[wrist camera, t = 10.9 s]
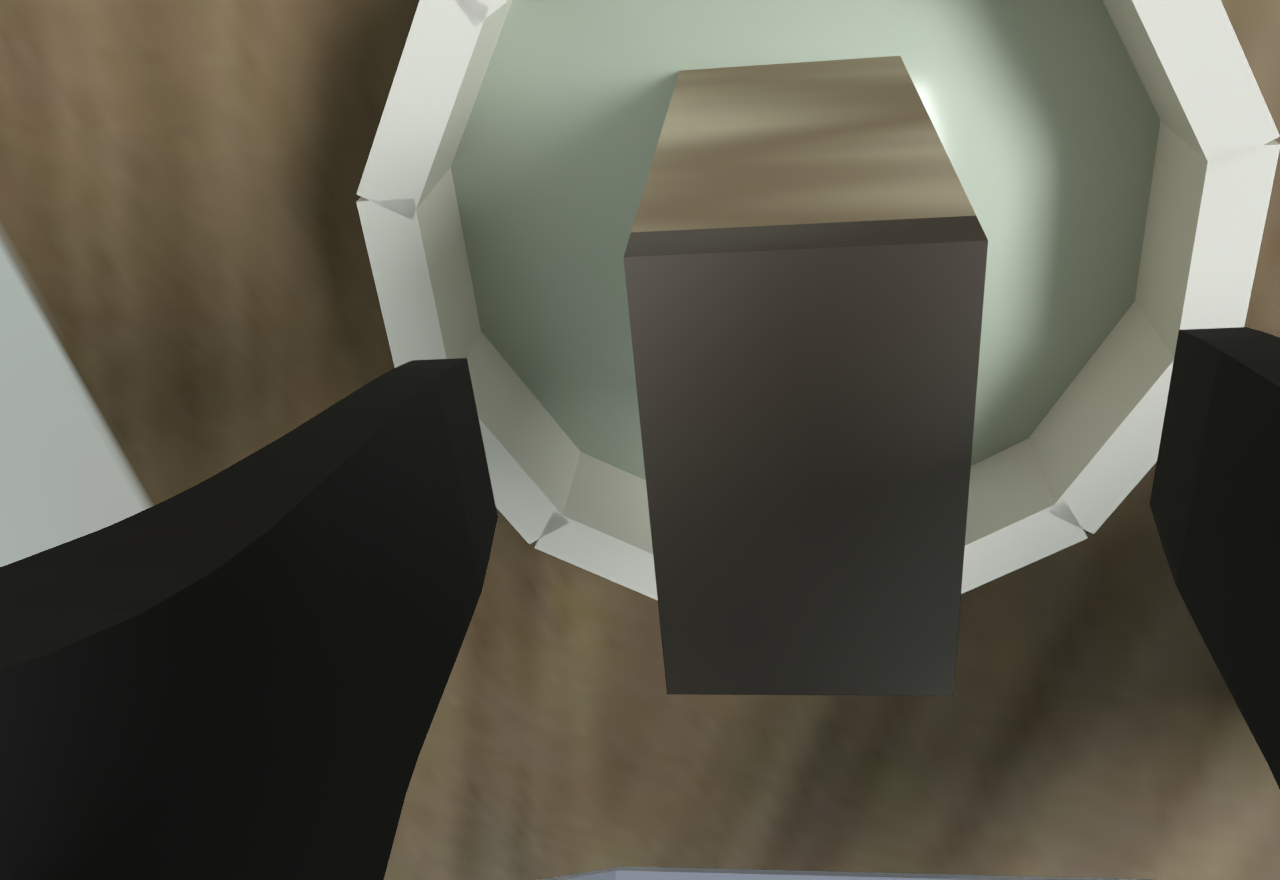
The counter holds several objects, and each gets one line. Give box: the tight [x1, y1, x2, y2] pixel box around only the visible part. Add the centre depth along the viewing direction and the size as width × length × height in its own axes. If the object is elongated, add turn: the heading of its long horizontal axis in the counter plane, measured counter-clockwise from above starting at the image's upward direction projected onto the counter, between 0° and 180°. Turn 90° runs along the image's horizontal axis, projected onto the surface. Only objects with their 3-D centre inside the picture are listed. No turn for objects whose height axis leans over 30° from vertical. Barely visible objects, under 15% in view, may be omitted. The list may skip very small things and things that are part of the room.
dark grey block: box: [623, 56, 988, 696], centre depth 13 cm, size 3×5×7 cm, turn 5°
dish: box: [356, 0, 1280, 600], centre depth 16 cm, size 12×12×2 cm
